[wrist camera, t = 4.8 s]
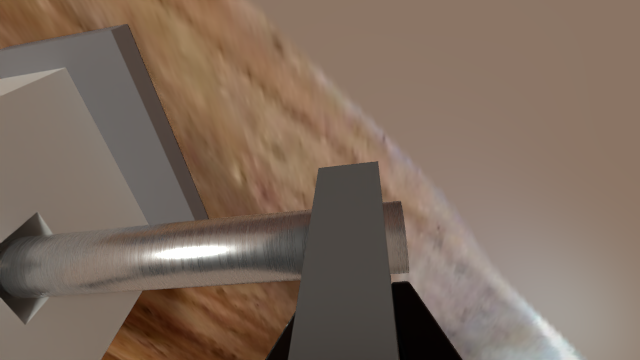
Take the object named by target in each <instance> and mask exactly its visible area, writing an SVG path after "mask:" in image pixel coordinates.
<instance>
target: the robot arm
mask: <svg viewBox="0 0 640 360" xmlns="http://www.w3.org/2000/svg"><path fill="white" fill-rule="evenodd" d="M391 287H392V296H393V305H394V314H395V322H396V331H397V340H398V348H399V357H400V360H462V358H461V357H460V355H459V354H458V352H457V351H456V349H455V348H454V346H453V345H452V344H451V342H450V341H449V339H448V338H447V336H446V335H445V333H444V332H443V330H442V329H441V327H440V326H439V325H438V323H437V322H436V320H435V319H434V317H433V316H432V314H431V313H430V311H429V310H428V308H427V307H426V306H425V304H424V303H423V301H422V300H421V298H420V297H419V295H418V294H417V292H416V291H415V289H414V288H413V286H412V285H411V284H410V283H409V282H408V281H402V282H393V283H392V284H391ZM295 313H296V311H295ZM295 313H294V315H293V316H292V318H291V319H290V321H289V323H288V324H287V326H286V327H285V329H284V330H283V332H282V334H281V335H280V337H279V338H278V340H277V342H276V343H275V345H274V346H273V348H272V350H271V351H270V353H269V354H268V356H267V357H266V359H265V360H288V356H289V350H290V344H291V338H292V331H293V325H294V319H295Z"/></svg>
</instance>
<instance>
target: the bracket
mask: <svg viewBox="0 0 640 360" xmlns="http://www.w3.org/2000/svg"><path fill="white" fill-rule="evenodd" d="M0 78H1V79H0V243H1V242H2V241H4V240H5V239H8V238H18V237H28V236H39V235H49V234H60V233H70V232H81V231H91V230H101V229H112V228H122V227H133V226H143V225H153V224H164V223H174V222H185V221H195V220H206V219H209V218H208V216H207V214H206V211H205V209H204V206H203V204H202V202H201V199H200V197H199V194H198V192H197V190H196V187H195V185H194V182H193V180H192V178H191V175H190V173H189V171H188V168H187V166H186V163H185V161H184V159H183V156H182V154H181V151H180V149H179V147H178V144H177V142H176V139H175V137H174V135H173V132H172V130H171V127H170V125H169V123H168V120H167V118H166V115H165V113H164V111H163V108H162V106H161V103H160V101H159V99H158V96H157V94H156V92H155V89H154V87H153V84H152V82H151V80H150V77H149V75H148V72H147V70H146V68H145V65H144V63H143V60H142V58H141V56H140V53H139V51H138V48H137V46H136V44H135V41H134V39H133V36H132V34H131V32H130V29H129V27H128V24H125V25H120V26H114V27H109V28H104V29H99V30H94V31H88V32H83V33H78V34H73V35H67V36H62V37H57V38H52V39H47V40H41V41H36V42H31V43H26V44H20V45H15V46H10V47H6V48H3V49H0ZM142 291H143V290H142ZM142 291H126V292H111V293H96V294H81V295H65V296H50V297H35V298H20V299H5V300H2V299H1V298H0V360H101V358H102V357H103V355H104V354H105V352H106V350H107V349H108V347H109V345H110V344H111V342H112V340H113V339H114V337H115V335H116V334H117V332H118V330H119V329H120V327H121V326H122V324H123V322H124V321H125V319H126V317H127V316H128V314H129V312H130V311H131V309H132V307H133V306H134V304H135V302H136V301H137V299H138V298H139V296H140V294H141V293H142Z"/></svg>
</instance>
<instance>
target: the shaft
mask: <svg viewBox="0 0 640 360" xmlns="http://www.w3.org/2000/svg"><path fill="white" fill-rule="evenodd" d="M400 273H409V261H408V250H407V240H406V232H405V224H404V217H403V210H402V205H401V201H393V202H383V203H382V194H381V185H380V176H379V167H378V161H377V162H368V163H359V164H351V165H342V166H333V167H324V168H319V169H318V175H317V182H316V188H315V194H314V200H313V207H312V209H310V210H299V211H289V212H279V213H268V214H258V215H247V216H237V217H226V218H216V219H206V220H195V221H185V222H174V223H164V224H153V225H143V226H133V227H122V228H112V229H101V230H91V231H81V232H70V233H60V234H49V235H39V236H28V237H18V238H8V239H5V240H4V241H2V242H1V243H0V298H1V299H2V300H5V299H20V298H35V297H50V296H65V295H81V294H96V293H111V292H126V291H142V290H157V289H172V288H187V287H203V286H218V285H233V284H248V283H263V282H279V281H294V280H301V281H300V288H299V294H298V300H297V306H296V313H295V319H294V325H293V331H292V338H291V344H290V350H289V356H288V360H399V350H398V341H397V331H396V322H395V314H394V305H393V296H392V287H391V276H390V274H400Z"/></svg>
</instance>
